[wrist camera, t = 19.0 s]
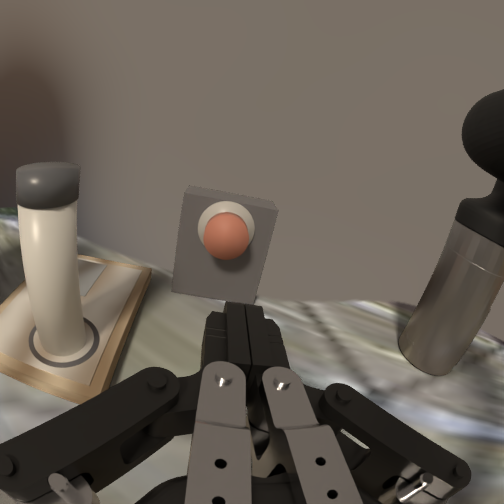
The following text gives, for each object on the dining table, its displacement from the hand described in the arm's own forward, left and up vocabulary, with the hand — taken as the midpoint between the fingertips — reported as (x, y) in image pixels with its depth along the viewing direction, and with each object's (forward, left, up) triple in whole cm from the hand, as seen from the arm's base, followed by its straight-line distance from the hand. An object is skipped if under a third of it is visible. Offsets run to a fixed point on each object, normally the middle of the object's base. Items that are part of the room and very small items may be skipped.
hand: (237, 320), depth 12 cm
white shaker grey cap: (+13, -6, -10) cm, 18 cm away
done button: (0, -17, -5) cm, 18 cm away
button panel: (0, -21, -12) cm, 24 cm away
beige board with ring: (+15, -11, -12) cm, 22 cm away
